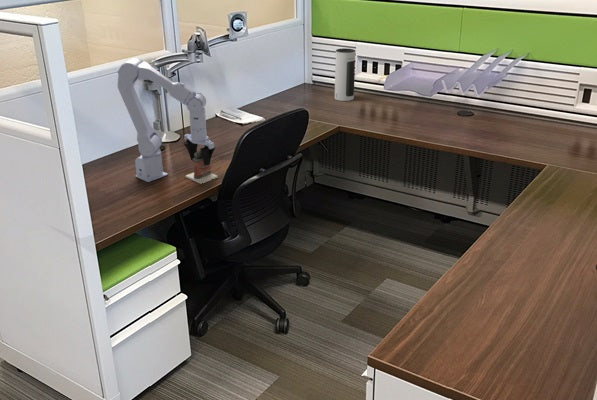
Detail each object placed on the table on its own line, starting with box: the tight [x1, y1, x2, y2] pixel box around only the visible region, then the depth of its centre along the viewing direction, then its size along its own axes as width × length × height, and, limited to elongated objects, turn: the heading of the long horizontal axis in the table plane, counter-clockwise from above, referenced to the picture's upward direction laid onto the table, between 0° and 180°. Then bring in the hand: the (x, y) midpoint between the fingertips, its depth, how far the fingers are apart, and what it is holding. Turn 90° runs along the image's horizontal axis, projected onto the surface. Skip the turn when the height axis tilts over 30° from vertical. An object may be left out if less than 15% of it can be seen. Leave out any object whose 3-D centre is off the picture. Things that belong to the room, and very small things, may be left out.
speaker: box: [334, 48, 356, 102], centre depth 327 cm, size 11×10×26 cm
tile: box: [185, 172, 219, 185], centre depth 236 cm, size 8×9×1 cm
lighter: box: [192, 149, 212, 179], centre depth 234 cm, size 8×3×10 cm, turn 142°
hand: (200, 162), depth 234 cm, fingers open, 7 cm apart
